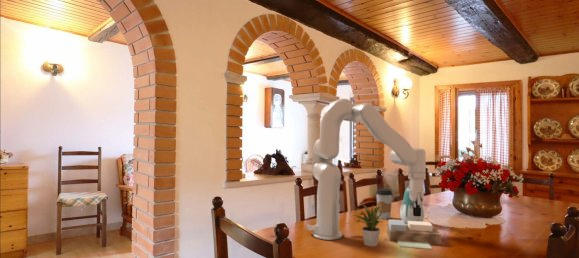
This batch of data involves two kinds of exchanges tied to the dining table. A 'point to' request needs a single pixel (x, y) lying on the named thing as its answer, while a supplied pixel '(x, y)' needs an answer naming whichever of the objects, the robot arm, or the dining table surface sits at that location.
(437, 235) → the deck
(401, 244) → the mat
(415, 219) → the vase
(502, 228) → the dining table surface
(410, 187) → the robot arm
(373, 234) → the house plant
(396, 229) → the gray rectangular block
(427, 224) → the cream block
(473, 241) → the dining table surface
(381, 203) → the coffee cup
